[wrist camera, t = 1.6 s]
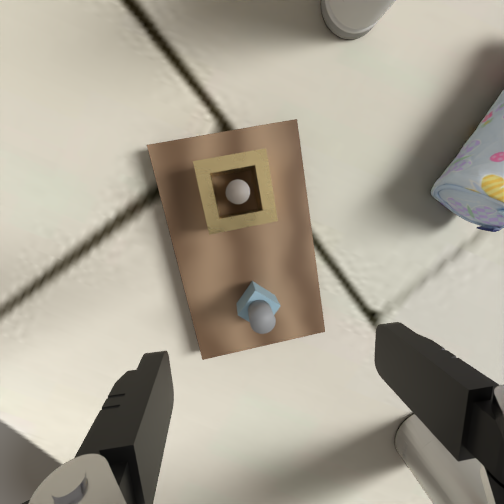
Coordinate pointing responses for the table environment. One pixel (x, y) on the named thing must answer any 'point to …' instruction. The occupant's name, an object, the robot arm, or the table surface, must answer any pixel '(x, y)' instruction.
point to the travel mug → (353, 16)
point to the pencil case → (478, 174)
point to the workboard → (241, 238)
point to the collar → (261, 183)
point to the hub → (258, 308)
